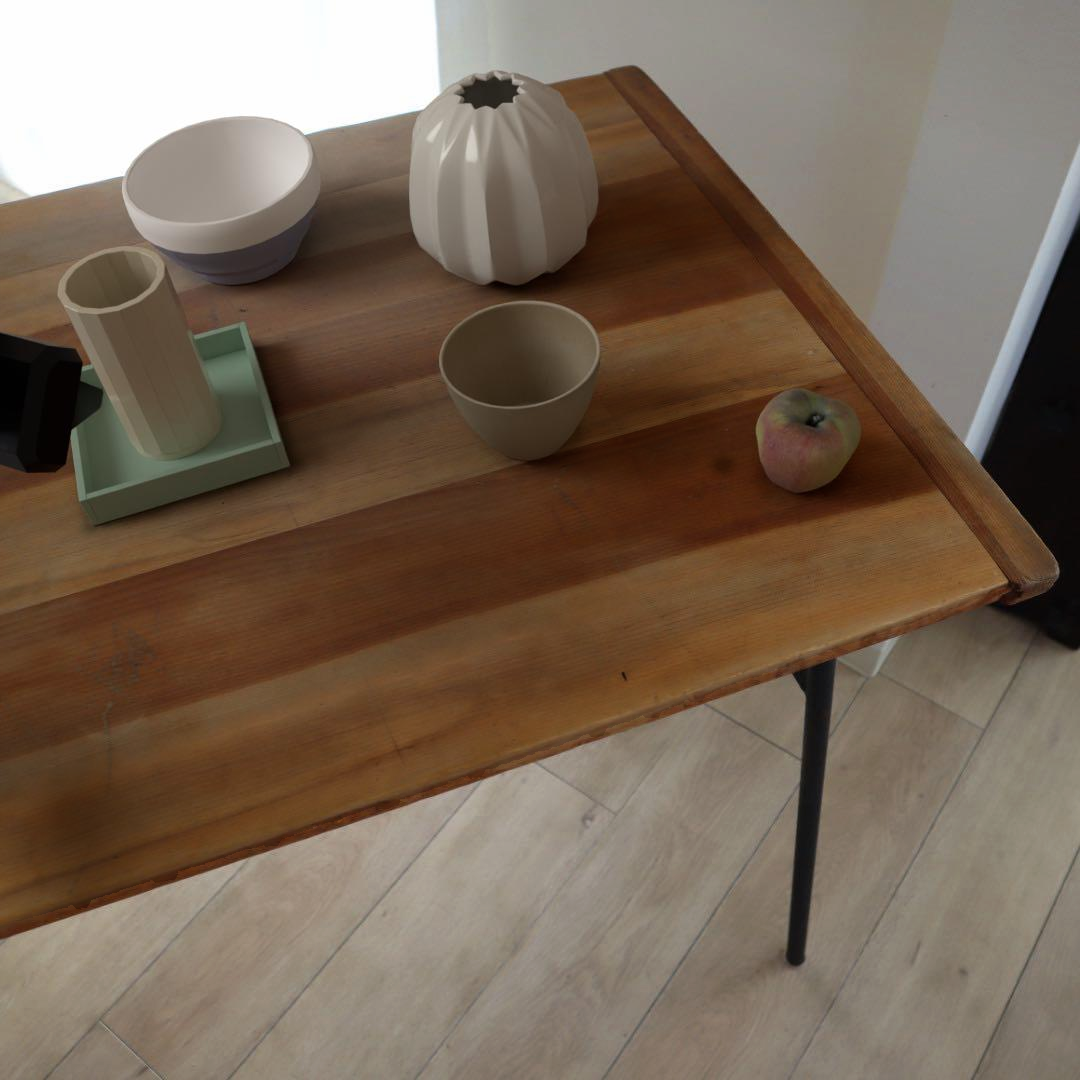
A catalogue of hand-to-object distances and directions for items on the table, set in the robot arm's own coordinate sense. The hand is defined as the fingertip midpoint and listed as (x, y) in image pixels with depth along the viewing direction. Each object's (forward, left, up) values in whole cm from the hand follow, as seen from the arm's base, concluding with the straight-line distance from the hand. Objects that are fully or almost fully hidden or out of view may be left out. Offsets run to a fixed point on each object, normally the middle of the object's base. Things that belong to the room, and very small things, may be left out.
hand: (35, 380), depth 67 cm
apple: (+41, -14, -12) cm, 45 cm away
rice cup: (+5, +6, -11) cm, 14 cm away
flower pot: (+27, -4, -12) cm, 30 cm away
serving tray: (+5, +6, -12) cm, 14 cm away
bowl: (+13, +24, -12) cm, 30 cm away
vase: (+32, +15, -12) cm, 38 cm away
